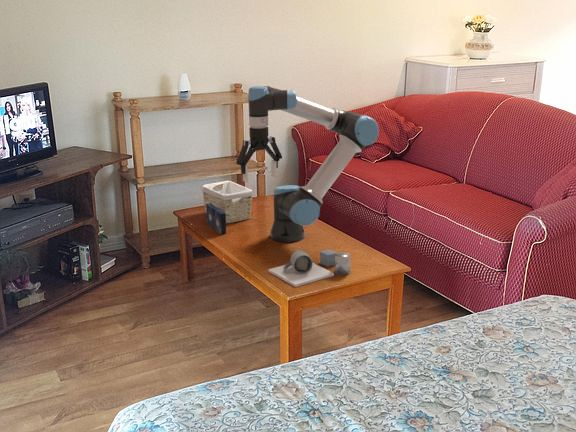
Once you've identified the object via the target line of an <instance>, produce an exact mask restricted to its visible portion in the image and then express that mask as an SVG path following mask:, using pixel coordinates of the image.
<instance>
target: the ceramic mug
mask: <svg viewBox="0 0 576 432" xmlns="http://www.w3.org/2000/svg"><path fill="white" fill-rule="evenodd" d="M313 263H314V262H313V259H312V258H311V256H310V255H309V254H308V253H307V252H305V251H304V250H302V249H301V250H295V251H294V252H293V253H292V254H291V255H290V262H288V263H286V264H284V265H285V266H284V267H283V269H284V271H285V272H286V273H289V272H292V271H294V270H295V271H296V272H297V273H299V274H306V273H308V272H309V271H310V270H311V269H312V266H313ZM291 265H292V266H293V267H291V268H289V269H287V268H288V267H290V266H291Z"/></svg>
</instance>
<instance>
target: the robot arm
mask: <svg viewBox="0 0 576 432" xmlns="http://www.w3.org/2000/svg"><path fill="white" fill-rule="evenodd" d="M247 94H248V98H247V101H248V125H249V128H248V129H249V131H248V132H249V133H248V134H249V140H243V141H242V146H241V149H240V151H239V154H238V157H237V158H236V159H237V160H236V162H235V164H236V165H238V166H240V173H241V174H242V182H244V183H249V169H248V167H249V166H248V165H247V164H248V162H249V161H250V159H251V158H252V156H253V155H254V153H255V152H256V151H257V152H258V151H265V152H266V153H267V154H268V155H269V156H270V158H271V162H270V163H271V164H270V165H271V166H270V167H271V169H270V170H271V172H270V173H271V176H272V177H273V178H277V175H278V174H277V172H278V171H277V169H279V168H278V167H279V162H280V161H281V160H282V159H283V156H282V153H281V151H280V149H279V147H278V145H277V143H276V138H275V136H269V127H268V126H269V111H270V112H271V111H282V112H285V113H288V114H291V115H293V116H296V117H298V118H302V119H305V120H308V121H310V122H313V123H316V124H319V125H322V126H324V127H325V129H326V130H328V131H331V132H333V133H335V134H338V135H339V141H338V142H337V144H336V145H335V146H334V147H333V148H332V151H331V152H330V153H329V154H328V156H327V158H325V160H324V161H323V162H322V164H321V165H320V167H319V168H318V169H317V171H315V173H314V174H313V176H312V177H311V179H310V180H309V181H308V182H307V183H306V185H303V186H300V185H296V184H294V185H292V184H290V185H286V184H285V185H279V186H276V187H275V188H274V189H273V222H272V226H271V230H270V238H271V239H272V240H273V241H276V242H280V243H281V242H283V243H287V242H288V243H291V242H298V241H301V240H303V239H304V238H305V229H304V227H306V226H309V225H313V223H315V222H316V221H317V219H318V218H319V217H320V213H321V206H322V205H323V198H324V196H325V195H326V193H328V191H329V189H330V188H331V187H332V186H333V184H334V183H335V182H336V180H337V179H338V178H339V176H340V175H341V173H342V172H343V171H344V170H345V168H346V167H347V165H348V164H349V163H350V162H351V160H352V159H353V157H354V156H355V155H356V153H362V151H363V150H364V149H365V147H367V146H371V145H373V144H374V143H375V142H376V141H377V140H378V137H379V135H380V134H379V133H380V131H379V129H380V128H379V125H378V123H377V121H376V120H375V119H374V118H372V117H370V116H369V115H365V114H359V113H358V112H352V111H346V110H341V109H339V108H335V107H333V108H328V107H327V106H326V107H325V106H323V105H321V104H318V103H316V102H312V101H309V100H307V99H304V98H302V97H298V95H297V93H296V91H295V90H293V89H284V90H283V89H278V88H275V87H272V86H269V85H264V86H263V85H262V86H261V85H260V86H258V85H256V86H250V87H249V88H248V93H247ZM268 143H269V144H270V146H271V147H270V146H269V144H268ZM271 148H272V149H271ZM303 226H304V227H303Z"/></svg>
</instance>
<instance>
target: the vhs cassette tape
mask: <svg viewBox="0 0 576 432" xmlns="http://www.w3.org/2000/svg"><path fill="white" fill-rule="evenodd" d="M206 213H207V214H206ZM206 213H205V214H206V225H208V226H209V227H211V228H212V229H213V230H214V231H216V232H217V233H218V234H220V235H227V223H226V213H224V212H223V211H221V210H220V209H219V208H217V207H216V206H214V205H213V204H211V203H207V204H206Z"/></svg>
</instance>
